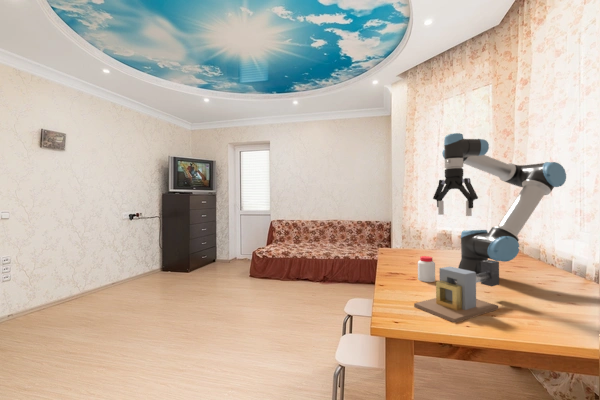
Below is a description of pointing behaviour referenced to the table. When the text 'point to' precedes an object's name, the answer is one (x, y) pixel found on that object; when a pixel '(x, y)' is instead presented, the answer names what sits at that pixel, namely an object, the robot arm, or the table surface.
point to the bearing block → (469, 301)
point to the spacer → (455, 295)
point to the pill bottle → (426, 269)
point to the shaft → (487, 273)
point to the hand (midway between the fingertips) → (454, 215)
